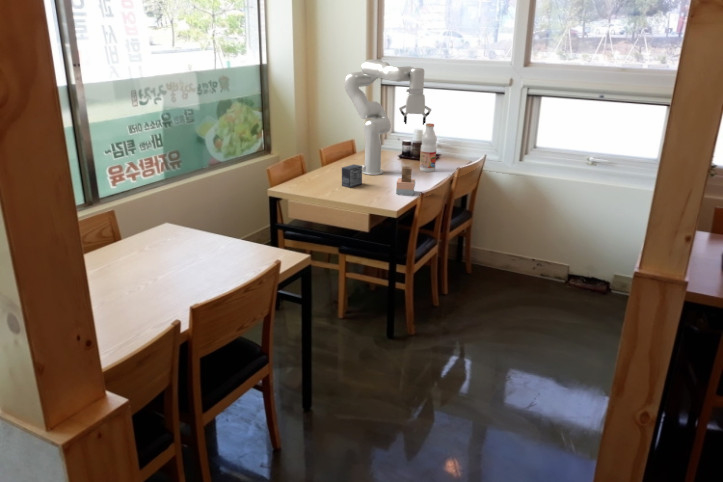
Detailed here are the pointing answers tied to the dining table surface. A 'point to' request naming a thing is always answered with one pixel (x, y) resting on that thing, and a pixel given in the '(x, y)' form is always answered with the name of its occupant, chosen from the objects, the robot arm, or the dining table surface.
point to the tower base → (404, 192)
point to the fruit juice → (428, 150)
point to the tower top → (405, 184)
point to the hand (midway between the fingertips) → (414, 124)
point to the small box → (351, 176)
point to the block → (406, 173)
